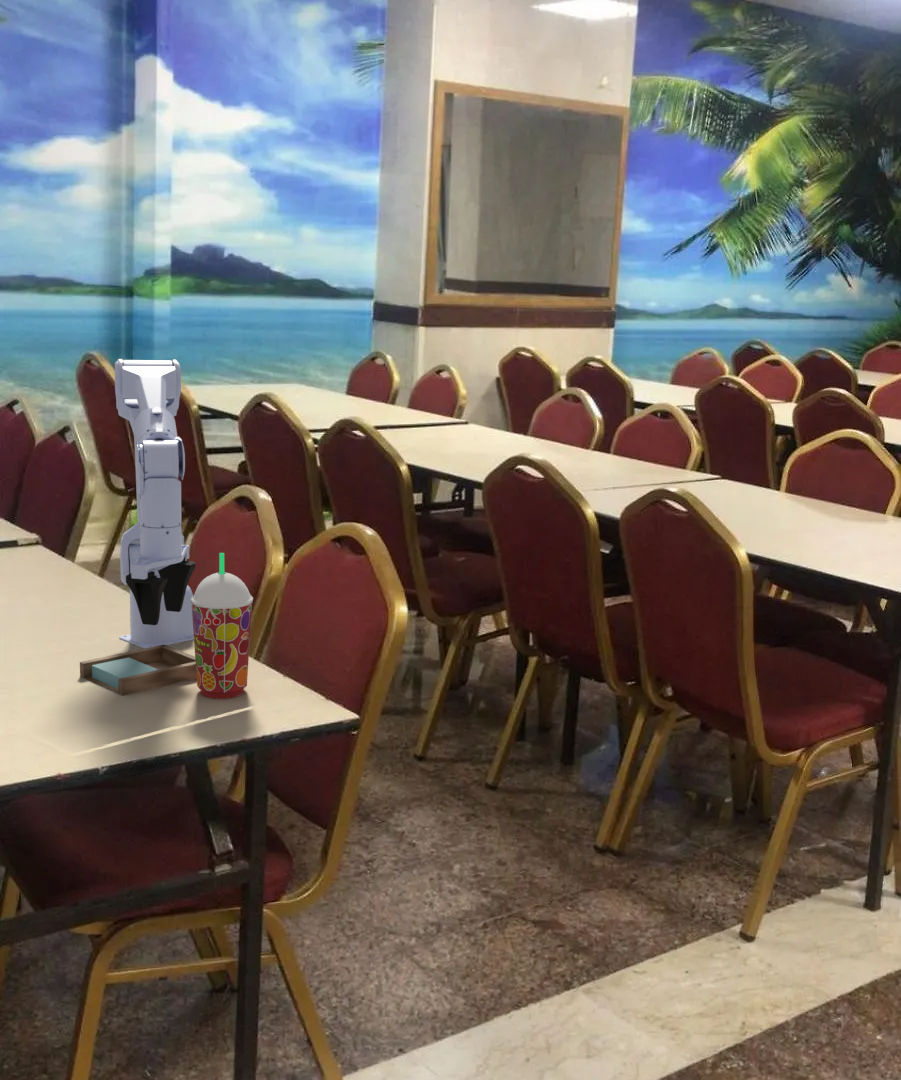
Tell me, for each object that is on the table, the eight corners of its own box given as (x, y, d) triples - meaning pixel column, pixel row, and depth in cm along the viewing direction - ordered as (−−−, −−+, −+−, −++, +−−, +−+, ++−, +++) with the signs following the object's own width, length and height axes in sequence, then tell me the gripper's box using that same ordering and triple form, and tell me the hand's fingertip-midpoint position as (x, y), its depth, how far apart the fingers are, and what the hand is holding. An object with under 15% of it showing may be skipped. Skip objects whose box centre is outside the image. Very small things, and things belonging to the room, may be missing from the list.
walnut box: (164, 660, 198) (164, 644, 198) (207, 677, 191) (207, 661, 190) (80, 679, 188) (79, 662, 188) (122, 698, 181) (122, 680, 180)
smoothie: (185, 688, 186) (184, 548, 182) (244, 682, 189) (244, 545, 185) (199, 706, 178) (198, 561, 174) (259, 700, 182) (260, 558, 178)
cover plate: (128, 669, 192) (128, 657, 192) (160, 682, 187) (159, 670, 186) (92, 677, 188) (91, 665, 188) (122, 691, 183) (122, 678, 182)
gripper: (157, 513, 195) (158, 602, 198) (110, 531, 182) (112, 627, 184) (202, 517, 194) (202, 607, 197) (157, 535, 180) (159, 632, 183)
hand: (162, 617), depth 190 cm, fingers open, 7 cm apart
